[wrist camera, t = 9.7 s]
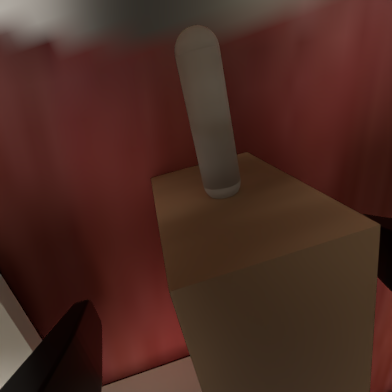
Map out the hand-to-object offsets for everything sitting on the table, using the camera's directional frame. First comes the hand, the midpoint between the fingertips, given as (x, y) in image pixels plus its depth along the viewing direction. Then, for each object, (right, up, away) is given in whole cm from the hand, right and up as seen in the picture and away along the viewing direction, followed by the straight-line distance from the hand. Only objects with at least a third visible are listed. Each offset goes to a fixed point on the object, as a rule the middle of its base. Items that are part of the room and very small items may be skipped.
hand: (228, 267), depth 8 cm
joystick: (-1, +2, 0) cm, 2 cm away
